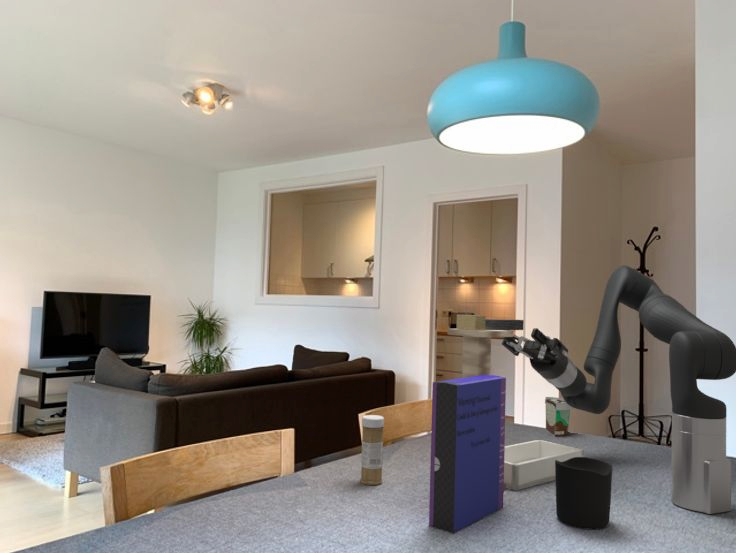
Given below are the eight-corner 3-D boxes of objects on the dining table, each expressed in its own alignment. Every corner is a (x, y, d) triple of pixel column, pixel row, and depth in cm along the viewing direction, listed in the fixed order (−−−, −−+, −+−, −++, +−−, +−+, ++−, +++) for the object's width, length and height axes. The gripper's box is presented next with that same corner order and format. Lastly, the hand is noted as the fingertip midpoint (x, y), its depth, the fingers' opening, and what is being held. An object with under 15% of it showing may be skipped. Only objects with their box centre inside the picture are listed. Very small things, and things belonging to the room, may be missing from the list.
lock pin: (510, 329, 134) (510, 315, 134) (528, 330, 130) (529, 316, 130) (456, 329, 123) (456, 314, 123) (475, 330, 119) (475, 315, 119)
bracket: (476, 477, 129) (479, 328, 130) (510, 488, 122) (513, 331, 123) (442, 485, 122) (446, 328, 124) (475, 497, 115) (479, 331, 117)
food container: (577, 439, 172) (578, 403, 172) (556, 438, 172) (556, 403, 172) (564, 430, 184) (565, 397, 184) (544, 429, 184) (545, 396, 185)
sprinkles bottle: (381, 479, 126) (383, 414, 126) (382, 486, 121) (384, 418, 122) (359, 479, 125) (361, 414, 126) (360, 485, 121) (362, 418, 121)
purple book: (480, 501, 113) (483, 374, 114) (503, 507, 110) (505, 376, 111) (428, 526, 100) (432, 381, 101) (453, 533, 97) (457, 384, 98)
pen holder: (617, 533, 99) (617, 472, 100) (558, 528, 101) (559, 467, 101) (605, 514, 108) (605, 458, 109) (551, 509, 110) (552, 454, 110)
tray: (538, 460, 146) (539, 439, 146) (583, 472, 136) (583, 449, 137) (469, 476, 130) (470, 453, 130) (515, 490, 121) (515, 465, 121)
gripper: (533, 349, 147) (497, 315, 138) (586, 353, 136) (550, 317, 127) (523, 376, 144) (486, 343, 136) (576, 383, 133) (539, 348, 125)
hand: (517, 330), depth 132 cm, fingers open, 8 cm apart
